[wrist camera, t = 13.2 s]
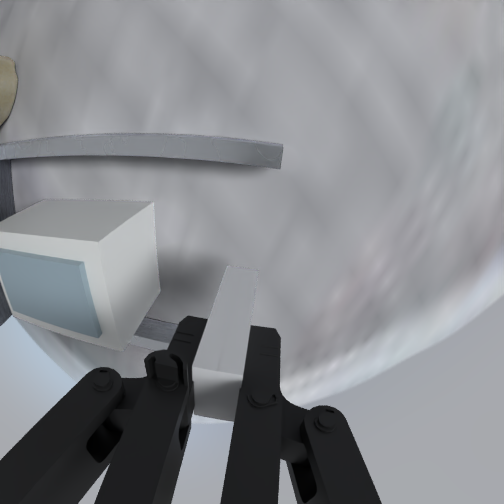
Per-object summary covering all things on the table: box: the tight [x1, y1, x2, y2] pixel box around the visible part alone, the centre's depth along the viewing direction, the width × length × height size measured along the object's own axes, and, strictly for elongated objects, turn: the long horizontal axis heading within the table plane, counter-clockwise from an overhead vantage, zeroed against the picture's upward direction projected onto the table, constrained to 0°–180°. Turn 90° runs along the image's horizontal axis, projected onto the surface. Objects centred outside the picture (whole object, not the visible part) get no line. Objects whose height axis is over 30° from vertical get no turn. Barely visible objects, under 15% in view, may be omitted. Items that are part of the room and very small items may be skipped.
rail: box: [0, 133, 283, 351], centre depth 15 cm, size 13×21×5 cm, turn 83°
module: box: [0, 199, 161, 352], centre depth 14 cm, size 6×9×6 cm, turn 87°
